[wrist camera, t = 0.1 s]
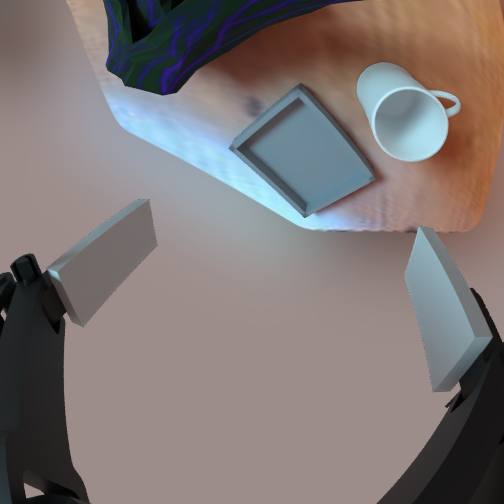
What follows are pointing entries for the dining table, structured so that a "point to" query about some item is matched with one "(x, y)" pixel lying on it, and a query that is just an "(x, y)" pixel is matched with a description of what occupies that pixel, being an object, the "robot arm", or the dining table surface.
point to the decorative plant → (185, 35)
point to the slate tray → (303, 153)
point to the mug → (404, 112)
